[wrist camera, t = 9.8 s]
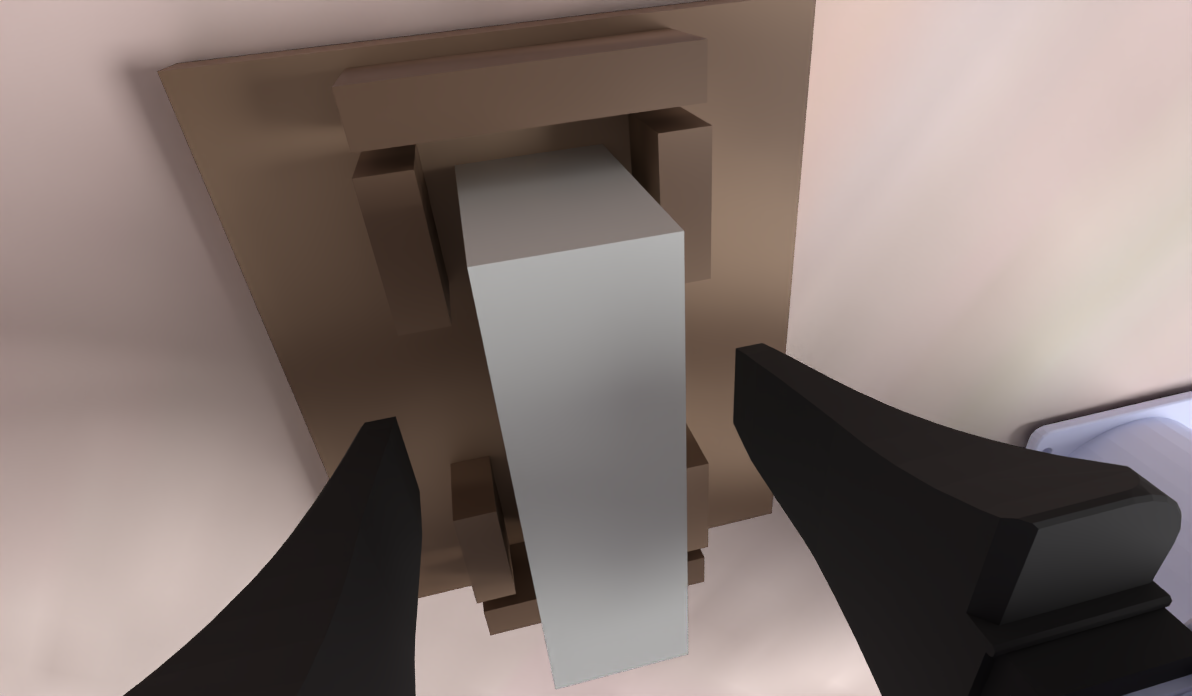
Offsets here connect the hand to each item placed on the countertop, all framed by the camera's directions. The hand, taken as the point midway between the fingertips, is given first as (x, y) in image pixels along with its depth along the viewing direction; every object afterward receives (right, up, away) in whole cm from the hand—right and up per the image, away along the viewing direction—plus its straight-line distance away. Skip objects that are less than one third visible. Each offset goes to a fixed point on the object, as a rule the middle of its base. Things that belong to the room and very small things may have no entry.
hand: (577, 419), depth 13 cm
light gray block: (-1, +1, +2) cm, 2 cm away
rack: (-1, +2, +3) cm, 3 cm away
